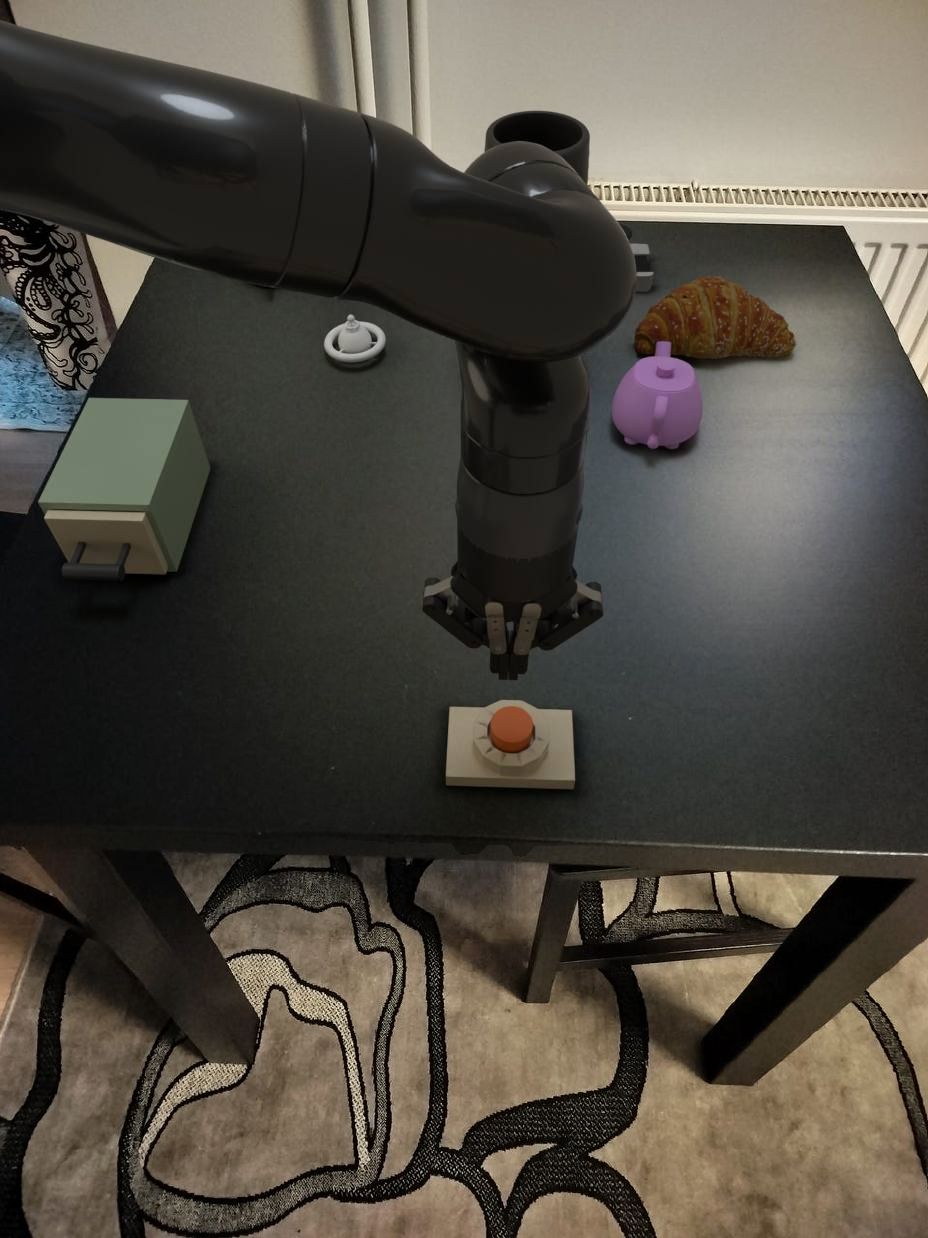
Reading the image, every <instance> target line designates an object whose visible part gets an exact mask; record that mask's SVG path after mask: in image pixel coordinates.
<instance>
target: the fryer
mask: <svg viewBox="0 0 928 1238" xmlns="http://www.w3.org/2000/svg"><path fill="white" fill-rule="evenodd" d="M74 425H75V426H74V427H73V430H72V431H71V433H70V435H69V437H68V440H67V441H66V444H65V446H64V447H63V449H62V452H61V453H60V456H59V458H58V460H57V462H56V464H55V467H54V469H53V470H52V473H51V474H50V477H49V479H48V480H47V482H46V484H45V487H44V489H43V490H42V493H41V495H40V497H39V499H38V501H37V504H38V505H39V507H40V508H41V510H42V512H43V515H44V516H45V515H46V513H47V511H48V510H66V509H75V510H115V511H143V512H145V513H146V515H147V517H148V520H149V522H150V524H151V527H152V529H153V531H154V534H155V536H156V538H157V541H158V543H159V545H160V548H161V550H162V552H163V555H164V557H165V559H166V562H167V564H168V569H167V572H166V573H177V572H178V569H179V567H180V564H181V561H182V557H183V554H184V551H185V548H186V545H187V542H188V539H189V536H190V533H191V529H192V526H193V524H194V520H195V517H196V514H197V512H198V509H199V505H200V502H201V499H202V497H203V493H204V489H205V487H206V484H207V481H208V478H209V474H210V471H211V466H210V463H209V460H208V457H207V453H206V450H205V447H204V444H203V441H202V438H201V435H200V431H199V428H198V426H197V422H196V419H195V416H194V414H193V410H192V407H191V403H190V401H189V399H170V398H169V399H167V398H166V399H165V398H164V399H163V398H121V397H120V398H118V397H117V398H116V397H111V398H110V397H107V398H106V397H88V399H87V401H86V402H85V405H84V407H83V409H82V410H81V413H80V415H79V417H78V419H77V421H76V423H75V424H74Z"/></svg>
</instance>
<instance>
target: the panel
mask: <svg viewBox="0 0 928 1238" xmlns="http://www.w3.org/2000/svg"><path fill="white" fill-rule="evenodd" d="M507 706H516V707H519V708H522V709H524V710H525V711H526V712H527V713H528V714H529V715H530V716H531V718H532V721H533V732H532V739H531V742H530V743H529V745H528V746H527V747H526V748H525V749H523V750H521V751H518V752H505V751H502V750H500V749H499V748H497V747H496V746H495V745H494V743H493V742H492V740H491V736H490V724H491V719H492V716H493V715H494V714H495V712H496V711H498V710H499V709H501V708H503V707H507ZM573 723H574V722H573V710H572V709H550V708H549V709H548V708H537V707H535V706H534V705H532V704H530V703H528V702H526V701H524V700H521V699H500V700H498V701H496V702H494V703H491V704H489V705H487V706H485V707H482V706H481V707H479V706H478V707H477V706H476V707H475V706H474V707H473V706H449V712H448V727H447V728H448V730H447V731H448V732H447V746H446V764H445V786H451V787H452V786H453V787H454V786H455V787H456V786H457V787H487V788H488V787H489V788H517V789H518V788H519V789H520V788H521V789H551V790H554V789H555V790H574V788H575V784H576V768H575V767H576V765H575V747H574V745H575V743H574V724H573Z"/></svg>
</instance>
